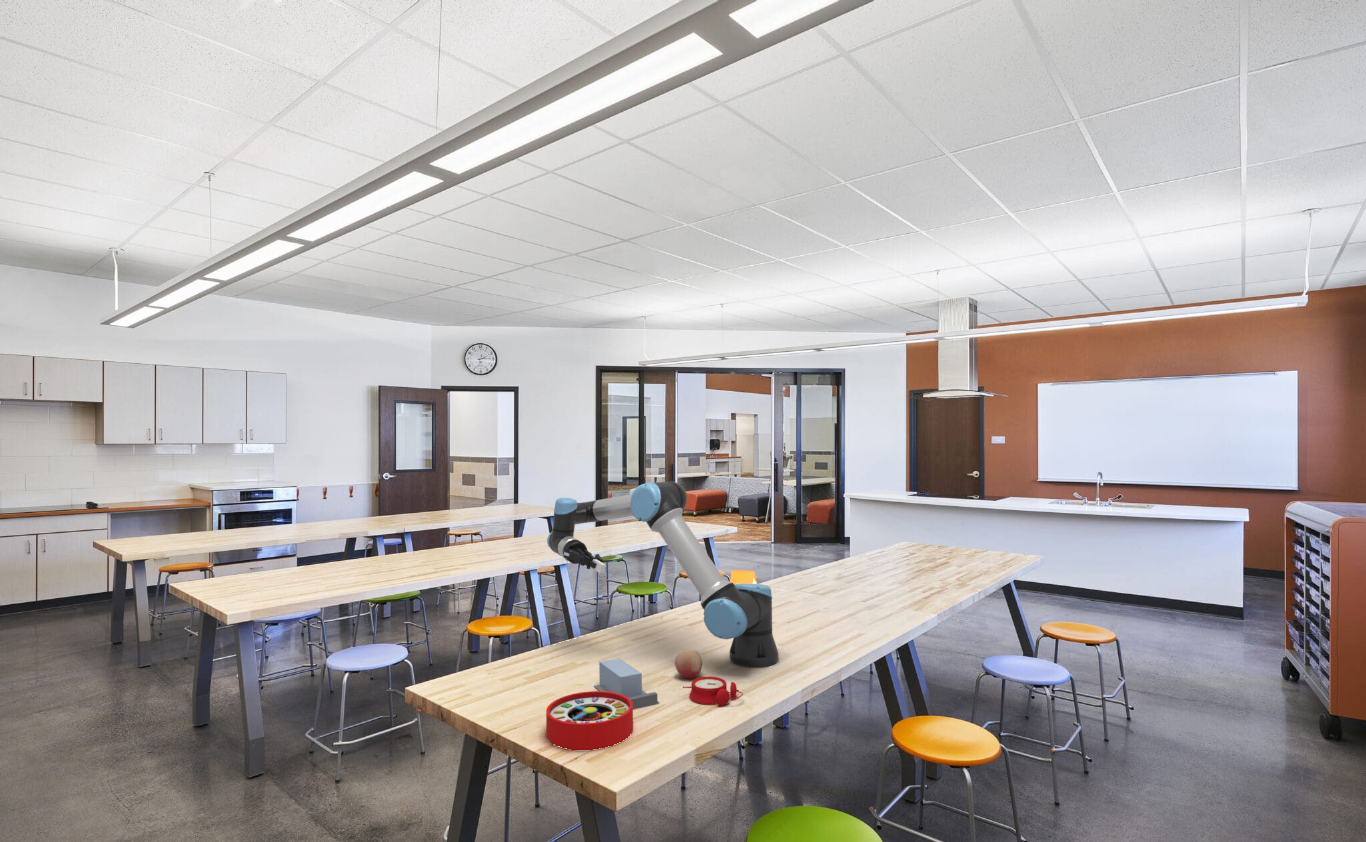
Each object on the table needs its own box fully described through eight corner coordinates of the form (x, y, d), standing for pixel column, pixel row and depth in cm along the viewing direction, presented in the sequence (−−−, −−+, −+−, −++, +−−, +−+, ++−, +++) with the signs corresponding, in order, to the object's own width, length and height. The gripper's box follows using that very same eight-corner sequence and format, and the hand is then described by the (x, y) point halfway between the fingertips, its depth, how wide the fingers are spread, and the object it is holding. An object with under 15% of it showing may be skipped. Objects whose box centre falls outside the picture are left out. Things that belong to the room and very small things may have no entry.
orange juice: (753, 628, 238) (751, 573, 239) (729, 626, 241) (728, 571, 242) (758, 623, 246) (757, 569, 247) (735, 621, 249) (734, 568, 250)
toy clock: (649, 700, 156) (595, 731, 139) (650, 725, 156) (595, 760, 139) (585, 685, 167) (527, 713, 150) (585, 709, 167) (527, 739, 150)
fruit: (705, 673, 191) (705, 645, 192) (698, 682, 184) (698, 653, 184) (679, 671, 193) (678, 643, 194) (671, 680, 186) (670, 652, 186)
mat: (593, 686, 182) (593, 677, 182) (626, 680, 186) (626, 671, 187) (623, 711, 164) (623, 701, 164) (659, 703, 169) (659, 693, 169)
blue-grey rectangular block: (599, 661, 184) (620, 677, 171) (618, 658, 187) (641, 673, 174) (599, 683, 183) (621, 700, 170) (619, 679, 186) (642, 696, 173)
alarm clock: (697, 674, 181) (745, 670, 173) (702, 697, 180) (750, 694, 172) (677, 686, 172) (727, 682, 164) (682, 711, 171) (733, 708, 163)
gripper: (587, 563, 225) (618, 583, 205) (552, 558, 218) (580, 579, 198) (592, 541, 226) (624, 559, 206) (557, 536, 219) (587, 554, 199)
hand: (602, 569), depth 202 cm, fingers closed
